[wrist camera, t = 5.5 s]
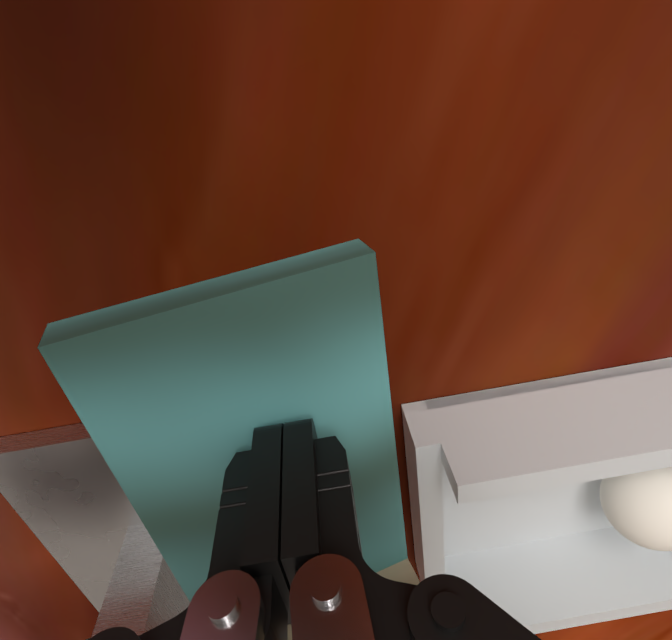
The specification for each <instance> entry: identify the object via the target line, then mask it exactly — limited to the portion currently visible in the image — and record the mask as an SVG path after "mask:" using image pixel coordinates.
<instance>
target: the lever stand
mask: <svg viewBox="0 0 672 640" xmlns="http://www.w3.org/2000/svg"><path fill="white" fill-rule="evenodd" d="M0 493H1V494H2V495H3V496H4V497H5V499H6V500H7V501H8V502H9V503H10V505H11V506H12V507H13V508H14V510H15V511H16V512H17V513H18V514H19V516H20V517H21V518H22V519H23V521H24V522H25V523H26V524H27V525H28V527H29V528H30V529H31V530H32V532H33V533H34V534H35V535H36V536H37V538H38V539H39V540H40V541H41V542H42V544H43V545H44V546H45V547H46V549H47V550H48V551H49V552H50V553H51V555H52V556H53V557H54V558H55V560H56V561H57V562H58V563H59V564H60V566H61V567H62V568H63V569H64V570H65V572H66V573H67V574H68V575H69V577H70V578H71V579H72V580H73V581H74V583H75V584H76V585H77V586H78V588H79V589H80V590H81V591H82V592H83V594H84V595H85V596H86V597H87V598H88V600H89V601H90V602H91V603H92V605H93V606H94V607H95V608H96V609H97V611H98V612H99V616H98V618H97V621H96V624H95V627H94V630H93V633H92V636H91V638H92V637H93V636H95V635H96V634H98V633H99V632H101V631H104V630H106V629H109V628H112V627H126V628H129V629H131V630H133V631H134V632H135V633H136V634H137V635H138V636H139V635H141V634H143V633H145V632H147V631H149V630H151V629H153V628H155V627H157V626H158V625H160V624H162V623H164V622H166V621H168V620H170V619H172V618H174V617H175V616H177V615H179V614H180V613H181V612H182V611H184V610H185V609H186V608H187V607H188V606H189V604H190V601H189V600H188V598H187V596H186V595H185V593H184V591H183V590H182V588H181V586H180V584H179V583H178V581H177V579H176V578H175V576H174V574H173V573H172V571H171V569H170V568H169V566H168V564H167V563H166V561H165V559H164V558H163V556H162V554H161V553H160V551H159V549H158V548H157V546H156V544H155V543H154V541H153V539H152V538H151V536H150V534H149V533H148V531H147V529H146V528H145V526H144V524H143V523H142V521H141V519H140V518H139V516H138V514H137V513H136V511H135V509H134V508H133V506H132V504H131V503H130V501H129V499H128V498H127V496H126V494H125V493H124V491H123V489H122V488H121V486H120V484H119V483H118V481H117V479H116V478H115V476H114V474H113V473H112V471H111V469H110V468H109V466H108V464H107V463H106V461H105V459H104V458H103V456H102V454H101V453H100V451H99V449H98V448H97V446H96V444H95V443H94V441H93V439H92V438H91V436H90V434H89V433H88V431H87V429H86V428H85V426H84V424H83V423H79V424H73V425H68V426H62V427H56V428H50V429H45V430H39V431H33V432H27V433H22V434H16V435H10V436H4V437H0Z"/></svg>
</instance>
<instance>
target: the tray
mask: <svg viewBox="0 0 672 640" xmlns="http://www.w3.org/2000/svg"><path fill="white" fill-rule="evenodd" d="M401 407H402V418H403V430H404V441H405V452H406V463H407V474H408V485H409V496H410V507H411V518H412V529H413V540H414V551H415V562H416V566H417V569H418V573H419V577H420V581H423V580H424V579H425V578H428V577H430V576H433V575H437V574H449V575H454V576H457V577H460V578H462V579H464V580H466V581H467V582H468V583H470V584H471V585H473V586H474V587H475V588H476V589H478V590H479V591H480V592H481V593H483V594H484V595H485V596H486V597H488V598H489V599H490V600H492V601H493V602H494V603H495V604H497V605H498V606H499V607H500V608H502V609H503V610H504V611H505V612H507V613H508V614H509V615H511V616H512V617H513V618H514V619H516V620H517V621H518V622H519V623H521V624H522V625H523V626H524V627H526V628H527V629H528V630H529V631H531V632H532V633H533V634H537V633H543V632H548V631H554V630H559V629H565V628H571V627H576V626H582V625H587V624H593V623H599V622H604V621H610V620H615V619H621V618H627V617H632V616H638V615H643V614H649V613H655V612H660V611H666V610H672V551H657V550H652V549H648V548H645V547H642V546H639V545H637V544H635V543H633V542H631V541H630V540H628V539H627V538H625V537H624V536H623V535H621V534H620V533H619V532H618V531H617V530H616V529H615V528H614V527H613V526H612V524H611V523H610V522H609V520H608V519H607V517H606V515H605V513H604V511H603V509H602V506H601V502H600V484H601V481H602V479H605V478H611V477H617V476H622V475H628V474H634V473H639V472H645V471H651V470H656V469H662V468H668V467H672V357H670V358H664V359H659V360H653V361H647V362H641V363H636V364H630V365H624V366H618V367H613V368H607V369H601V370H596V371H590V372H584V373H578V374H573V375H567V376H561V377H555V378H550V379H544V380H538V381H533V382H527V383H521V384H515V385H510V386H504V387H498V388H492V389H487V390H481V391H475V392H470V393H464V394H458V395H452V396H447V397H441V398H435V399H429V400H424V401H418V402H412V403H407V404H401Z"/></svg>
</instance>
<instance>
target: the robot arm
mask: <svg viewBox="0 0 672 640" xmlns="http://www.w3.org/2000/svg"><path fill="white" fill-rule="evenodd" d="M219 506H220V510H219V511H218V518H217V524H216V530H215V536H214V542H213V549H212V555H211V561H210V567H209V572H208V577H207V579H206V582H204V583H203V584H202V585H201V586H200V588H199V589H198V590H197V591H196V593H195V594H194V596H193V598H192V600H191V602H190V604H189V606H188V607H187V608H186V609H185V610H184V611H182V612H181V613H180V614H179V615H177V616H175V617H174V618H172V619H170V620H168V621H166V622H164V623H162V624H160V625H158V626H157V627H155V628H153V629H151V630H149V631H147V632H145V633H143V634H141V635H139V636H138V635H137V634H136V633H135V632H134V631H133V630H131V629H129V628H126V627H112V628H109V629H106V630H104V631H101V632H99V633H98V634H96V635H95V636H93V637H92V638H90V639H89V640H288V625H290V624H291V628H292V640H541V639H540V638H538V637H537V636H536V635H535V634H533V633H532V632H531V631H529V630H528V629H527V628H526V627H524V626H523V625H522V624H521V623H519V622H518V621H517V620H516V619H514V618H513V617H512V616H511V615H509V614H508V613H507V612H505V611H504V610H503V609H502V608H500V607H499V606H498V605H497V604H495V603H494V602H493V601H492V600H490V599H489V598H488V597H486V596H485V595H484V594H483V593H481V592H480V591H479V590H478V589H476V588H475V587H474V586H473V585H471V584H470V583H468V582H467V581H466V580H464V579H462V578H460V577H457V576H454V575H449V574H437V575H433V576H430V577H428V578H425V579H424V580H423V581H421V582H420V583H419V584H418V585H414V584H409V583H404V582H398V581H394V580H390V579H387V578H385V577H382V576H380V575H379V574H377V573H376V572H374V571H373V570H372V569H371V568H370V567H369V566H368V564H367V563H366V562H365V560H364V559H363V555H362V548H361V541H360V534H359V527H358V520H357V513H356V506H355V498H354V491H353V486H352V480H351V475H350V470H349V465H348V459H347V454H346V450H345V448H344V447H343V446H342V444H341V443H340V441H339V440H338V439H337V437H336V436H330V437H324V438H317V434H316V429H315V425H314V421H313V419H312V418H310V419H304V420H298V421H293V422H287V423H284V424H283V423H282V424H276V425H270V426H264V427H258V428H254V431H253V438H252V448H251V450H248V451H242V452H236V453H235V455H234V457H233V458H232V460H231V462H230V463H229V465H228V467H227V468H226V470H225V474H224V480H223V487H222V494H221V499H220V505H219Z"/></svg>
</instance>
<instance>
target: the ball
mask: <svg viewBox="0 0 672 640" xmlns="http://www.w3.org/2000/svg"><path fill="white" fill-rule="evenodd" d="M600 502H601V506H602V509H603V511H604V513H605V515H606V517H607V519H608V520H609V522H610V523H611V524H612V526H613V527H614V528H615V529H616V530H617V531H618V532H619V533H620V534H621V535H623V536H624V537H625V538H627V539H628V540H630V541H631V542H633V543H635V544H637V545H639V546H642V547H645V548H648V549H652V550H657V551H672V467H668V468H662V469H656V470H651V471H645V472H639V473H634V474H628V475H622V476H617V477H611V478H605V479H602V481H601V484H600Z"/></svg>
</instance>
